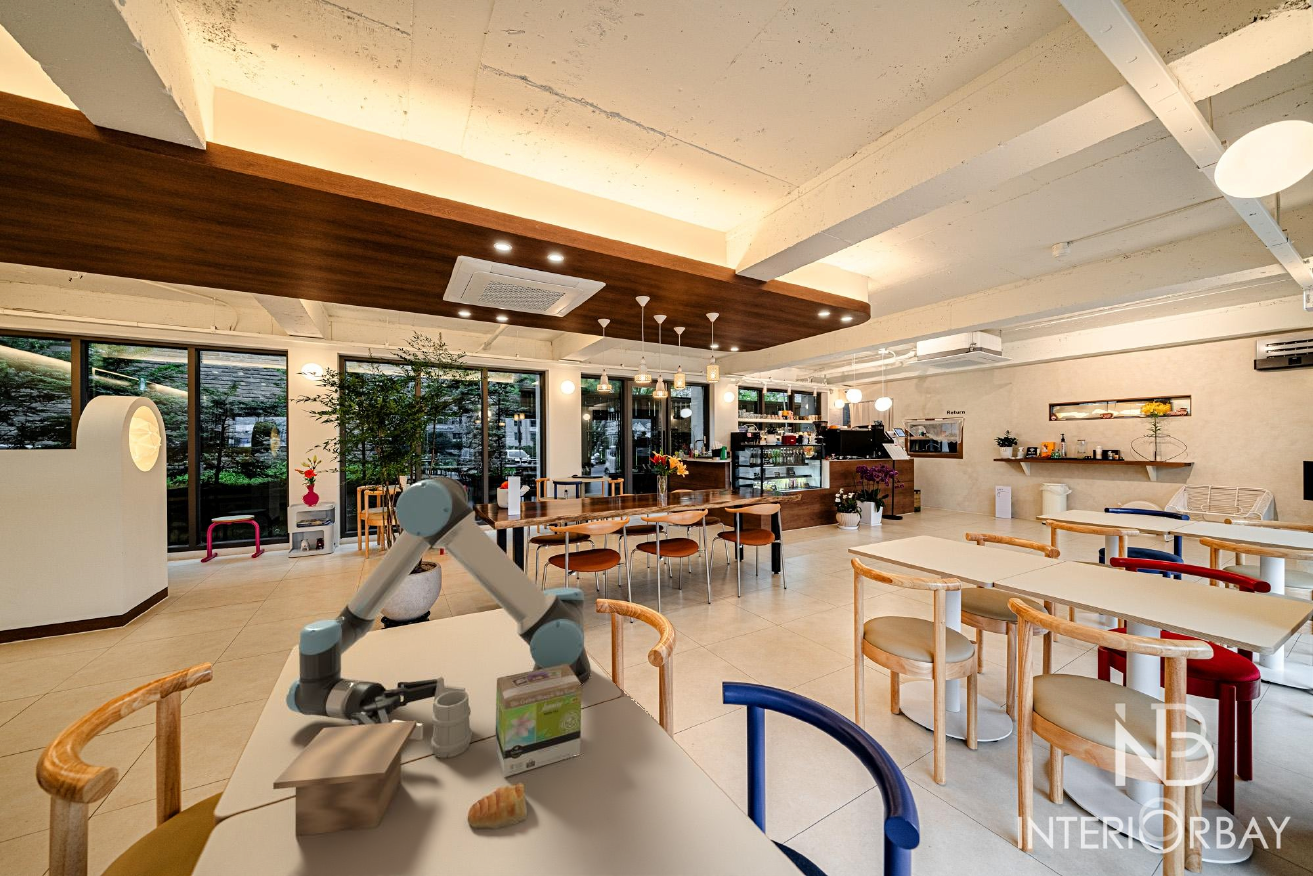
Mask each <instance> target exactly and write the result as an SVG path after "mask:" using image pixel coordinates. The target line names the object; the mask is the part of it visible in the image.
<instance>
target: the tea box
mask: <svg viewBox="0 0 1313 876" xmlns="http://www.w3.org/2000/svg"><path fill="white" fill-rule="evenodd" d="M495 702H496V703H495V707H496V708H495V743H494V745H495V751H496V754H497V757H498V760H499V764H500V768H501V771H502V775H503V778H504V779H505V778H508V777H509V776H513V775H516V774H520V773H523V772H525V771H529V770H533V769H536V768H539V767H542V766H546V765H551V764H553V763H557V762H560V761H564V760H567V758H568V759H570V758H569V757H571V758H574V757H573V756H574V755H578V754H579V755H580V754H581V740H582V739H581V736H582V732H581V731H582V722H581V721H582V685H581V683H580V681H579V680H578V678H577V677H576V675H575V674H574V673H573V671H572V670H571V668H570V667H569V665H568V664H563V665H558V666H553V667H548V668H543V669H539V670H534V671H533V670H530V671H526V672H521V673H514V674H511V675H506V676H501V677H500V676H499V677H498V678H496V699H495ZM563 759H564V760H563Z"/></svg>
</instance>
